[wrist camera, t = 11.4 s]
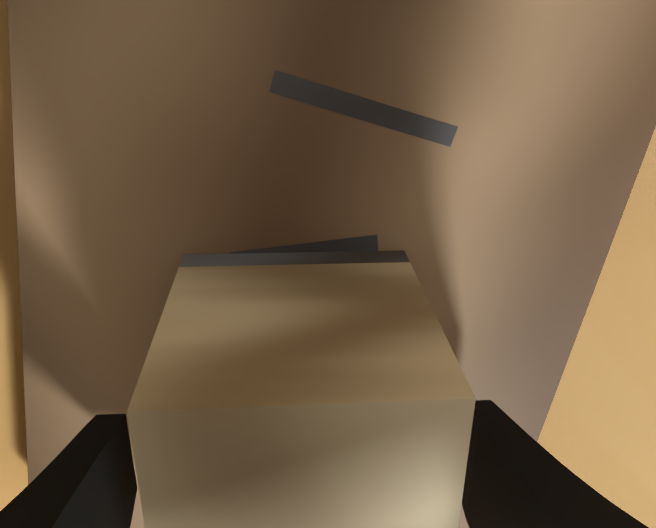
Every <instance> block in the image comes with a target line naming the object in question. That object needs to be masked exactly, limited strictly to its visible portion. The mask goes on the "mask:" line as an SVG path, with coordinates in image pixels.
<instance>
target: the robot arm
mask: <svg viewBox="0 0 656 528" xmlns="http://www.w3.org/2000/svg"><path fill="white" fill-rule="evenodd" d="M136 493H137V483H136V476H135V470H134V463H133V457H132V450H131V444H130V437H129V431H128V424H127V418H126V414H101V415H95V416H94V417H93V418H92V419H91V420H90V421H89V422H88V423H87V424H86V425H85V426H84V428H83V429H82V430H81V431H80V432H79V433H78V434H77V435H76V436H75V437H74V438H73V439H72V440H71V441H70V443H69V444H68V445H67V446H66V447H65V448H64V449H63V450H62V451H61V452H60V453H59V454H58V455H57V456H56V457H55V458H54V459H53V461H52V462H51V463H50V464H49V465H48V466H47V467H46V468H45V469H44V470H43V471H42V472H41V473H40V474H39V475H38V476H37V477H36V478H35V479H34V480H33V481H32V482H31V483H30V484H29V485H28V486H27V487H26V488H25V489H24V490H23V491H22V492H21V493H20V494H19V495H18V496H16V497H15V498H14V499H13V500H12V501H11V502H10V503H9V504H8V505H7V506H6V507H5V508H4V509H2V510H1V511H0V528H130V526H131V521H132V516H133V510H134V505H135V499H136ZM462 507H463V510H464V514H465V518H466V520H467V523H468V526H469V528H648V527H647V526H645V525H644V524H642V523H641V522H639V521H638V520H636V519H635V518H633V517H632V516H630V515H629V514H627V513H626V512H624V511H623V510H621V509H620V508H619V507H617V506H616V505H614V504H613V503H611V502H610V501H609V500H607V499H606V498H605V497H603V496H602V495H600V494H599V493H598V492H597V491H595V490H594V489H593V488H591V487H590V486H589V485H588V484H586V483H585V482H584V481H582V480H581V479H580V478H579V477H577V476H576V475H575V474H574V473H572V472H571V471H570V470H569V469H568V468H566V467H565V466H564V465H563V464H561V463H560V462H559V461H558V460H557V459H556V458H554V457H553V456H552V455H551V454H550V453H549V452H548V451H546V450H545V449H544V448H543V447H542V446H541V445H540V444H538V443H537V442H536V441H535V440H534V439H533V438H532V437H531V436H530V435H529V434H527V433H526V432H525V431H524V430H523V429H522V428H521V427H520V426H519V425H518V424H517V423H516V422H514V421H513V420H512V419H511V418H510V417H509V416H508V415H507V414H506V413H505V412H504V411H503V410H502V409H500V408H499V407H498V406H497V405H496V404H495V403H494V402H493V401H492V400H476V401H475V408H474V416H473V423H472V430H471V438H470V445H469V453H468V460H467V467H466V475H465V482H464V489H463V497H462Z"/></svg>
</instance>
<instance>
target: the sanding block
mask: <svg viewBox="0 0 656 528" xmlns="http://www.w3.org/2000/svg"><path fill="white" fill-rule="evenodd" d="M475 401H476V398H475V396H474V394H473V392H472V389H471V387H470V385H469V383H468V381H467V379H466V377H465V375H464V373H463V371H462V369H461V367H460V365H459V363H458V361H457V358H456V356H455V354H454V352H453V350H452V348H451V346H450V344H449V342H448V340H447V338H446V336H445V334H444V332H443V330H442V327H441V325H440V323H439V321H438V319H437V317H436V315H435V313H434V311H433V309H432V307H431V305H430V303H429V301H428V298H427V296H426V294H425V292H424V290H423V288H422V286H421V284H420V282H419V280H418V278H417V276H416V274H415V272H414V270H413V267H412V265H411V263H410V261H409V259H408V257H407V255H406V253H405V251H404V250H397V251H345V252H292V253H239V254H186V255H183V257H182V259H181V262H180V265H179V268H178V271H177V273H176V276H175V279H174V282H173V285H172V287H171V290H170V293H169V296H168V298H167V301H166V304H165V307H164V310H163V312H162V315H161V318H160V321H159V324H158V326H157V329H156V332H155V335H154V337H153V340H152V343H151V346H150V349H149V351H148V354H147V357H146V360H145V363H144V365H143V368H142V371H141V374H140V376H139V379H138V382H137V385H136V388H135V390H134V393H133V396H132V399H131V401H130V404H129V407H128V410H127V415H128V422H129V428H130V435H131V441H132V448H133V454H134V461H135V467H136V474H137V480H138V487H139V493H140V500H141V506H142V513H143V519H144V526H145V528H458V526H459V519H460V511H461V504H462V497H463V489H464V482H465V475H466V467H467V460H468V453H469V445H470V438H471V430H472V423H473V416H474V408H475Z"/></svg>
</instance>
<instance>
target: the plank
mask: <svg viewBox="0 0 656 528" xmlns="http://www.w3.org/2000/svg"><path fill="white" fill-rule="evenodd" d="M7 10H8V33H9V56H10V78H11V101H12V124H13V147H14V169H15V192H16V215H17V237H18V260H19V283H20V305H21V328H22V351H23V373H24V396H25V419H26V441H27V464H28V485H29V484H30V483H31V482H32V481H33V480H34V479H35V478H36V477H37V476H38V475H39V474H40V473H41V472H42V471H43V470H44V469H45V468H46V467H47V466H48V465H49V464H50V463H51V462H52V461H53V459H54V458H55V457H56V456H57V455H58V454H59V453H60V452H61V451H62V450H63V449H64V448H65V447H66V446H67V445H68V444H69V443H70V441H71V440H72V439H73V438H74V437H75V436H76V435H77V434H78V433H79V432H80V431H81V430H82V429H83V428H84V426H85V425H86V424H87V423H88V422H89V421H90V420H91V419H92V418H93V417H94V416H95V415H101V414H126V418H127V424H128V431H129V437H130V444H131V450H132V457H133V463H134V470H135V476H136V483H137V493H136V499H135V505H134V510H133V516H132V521H131V526H130V528H145V526H144V519H143V513H142V506H141V500H140V493H139V487H138V480H137V474H136V467H135V461H134V454H133V448H132V441H131V435H130V428H129V422H128V415H127V410H128V407H129V404H130V401H131V399H132V396H133V393H134V390H135V388H136V385H137V382H138V379H139V376H140V374H141V371H142V368H143V365H144V363H145V360H146V357H147V354H148V351H149V349H150V346H151V343H152V340H153V337H154V335H155V332H156V329H157V326H158V324H159V321H160V318H161V315H162V312H163V310H164V307H165V304H166V301H167V298H168V296H169V293H170V290H171V287H172V285H173V282H174V279H175V276H176V273H177V271H178V268H179V265H180V262H181V259H182V257H183V255H186V254H239V253H292V252H345V251H397V250H404V251H405V253H406V255H407V257H408V259H409V261H410V263H411V265H412V267H413V270H414V272H415V274H416V276H417V278H418V280H419V282H420V284H421V286H422V288H423V290H424V292H425V294H426V296H427V298H428V301H429V303H430V305H431V307H432V309H433V311H434V313H435V315H436V317H437V319H438V321H439V323H440V325H441V327H442V330H443V332H444V334H445V336H446V338H447V340H448V342H449V344H450V346H451V348H452V350H453V352H454V354H455V356H456V358H457V361H458V363H459V365H460V367H461V369H462V371H463V373H464V375H465V377H466V379H467V381H468V383H469V385H470V387H471V389H472V392H473V394H474V396H475V398H476V400H492V401H493V402H494V403H495V404H496V405H497V406H498V407H499V408H500V409H502V410H503V411H504V412H505V413H506V414H507V415H508V416H509V417H510V418H511V419H512V420H513V421H514V422H516V423H517V424H518V425H519V426H520V427H521V428H522V429H523V430H524V431H525V432H526V433H527V434H529V435H530V436H531V437H532V438H533V439H534V440H535V441H536V442H537V440H538V438H539V435H540V432H541V430H542V427H543V424H544V422H545V419H546V416H547V414H548V411H549V408H550V406H551V403H552V400H553V398H554V395H555V392H556V390H557V387H558V384H559V382H560V379H561V376H562V374H563V371H564V368H565V366H566V363H567V360H568V358H569V355H570V353H571V350H572V347H573V345H574V342H575V339H576V337H577V334H578V331H579V329H580V326H581V323H582V321H583V318H584V315H585V313H586V310H587V307H588V305H589V302H590V299H591V297H592V294H593V291H594V289H595V286H596V283H597V281H598V278H599V275H600V273H601V270H602V267H603V265H604V262H605V259H606V257H607V254H608V251H609V249H610V246H611V243H612V241H613V238H614V235H615V233H616V230H617V227H618V225H619V222H620V219H621V217H622V214H623V211H624V209H625V206H626V204H627V201H628V198H629V196H630V193H631V190H632V188H633V185H634V182H635V180H636V177H637V174H638V172H639V169H640V166H641V164H642V161H643V158H644V156H645V153H646V150H647V148H648V145H649V142H650V140H651V137H652V134H653V132H654V129H655V126H656V0H7ZM458 528H469V526H468V523H467V520H466V518H465V514H464V510H463V507H462V504H461V511H460V519H459V526H458Z"/></svg>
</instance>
